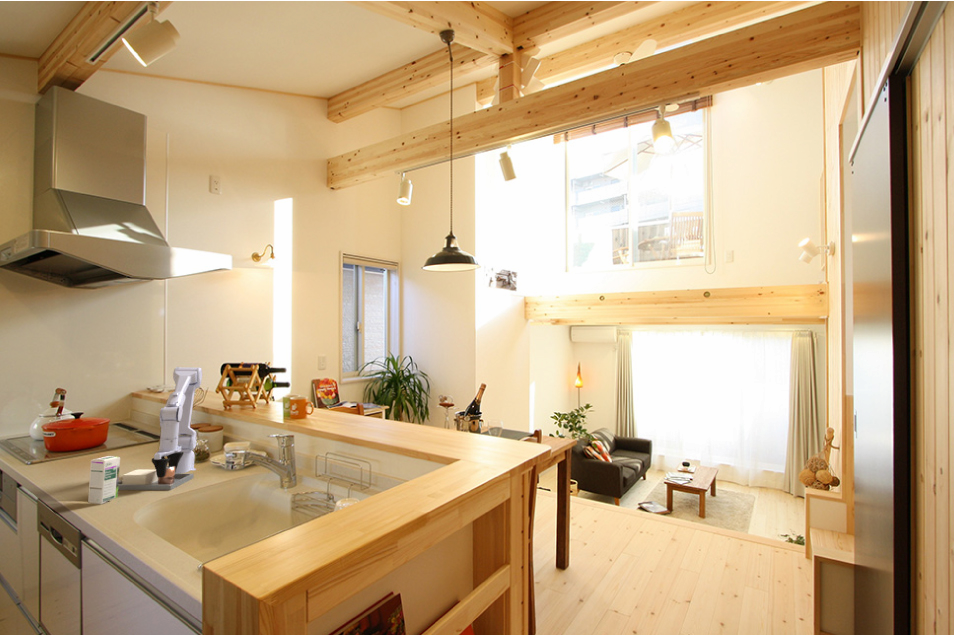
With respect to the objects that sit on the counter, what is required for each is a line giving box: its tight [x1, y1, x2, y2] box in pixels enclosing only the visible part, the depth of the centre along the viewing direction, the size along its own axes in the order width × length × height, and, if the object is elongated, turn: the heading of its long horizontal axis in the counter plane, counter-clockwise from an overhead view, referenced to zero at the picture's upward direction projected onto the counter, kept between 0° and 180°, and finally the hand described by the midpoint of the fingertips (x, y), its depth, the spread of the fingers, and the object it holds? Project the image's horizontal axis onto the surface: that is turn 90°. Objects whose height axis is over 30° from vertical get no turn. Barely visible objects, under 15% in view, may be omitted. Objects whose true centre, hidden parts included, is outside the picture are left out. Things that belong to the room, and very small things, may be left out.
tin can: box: [158, 465, 175, 485], centre depth 177 cm, size 5×5×6 cm
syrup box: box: [87, 455, 121, 505], centre depth 159 cm, size 6×6×14 cm
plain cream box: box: [121, 469, 158, 485], centre depth 176 cm, size 8×8×4 cm
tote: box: [118, 473, 195, 491], centre depth 177 cm, size 16×21×2 cm
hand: (166, 474), depth 177 cm, fingers open, 7 cm apart
